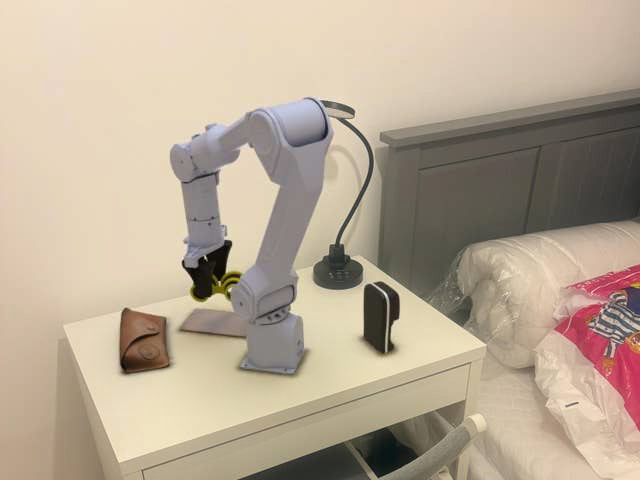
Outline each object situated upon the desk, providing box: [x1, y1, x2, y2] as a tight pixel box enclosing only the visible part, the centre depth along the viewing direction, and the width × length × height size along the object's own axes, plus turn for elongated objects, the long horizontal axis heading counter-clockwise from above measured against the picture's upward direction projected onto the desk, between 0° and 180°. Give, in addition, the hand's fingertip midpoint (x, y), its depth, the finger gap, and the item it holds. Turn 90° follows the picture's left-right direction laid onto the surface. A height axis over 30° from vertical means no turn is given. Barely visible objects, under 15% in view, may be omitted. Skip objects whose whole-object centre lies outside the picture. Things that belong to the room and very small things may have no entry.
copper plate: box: [179, 308, 246, 339], centre depth 124 cm, size 13×8×1 cm, turn 76°
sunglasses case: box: [118, 307, 171, 374], centre depth 117 cm, size 18×7×7 cm
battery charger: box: [362, 280, 401, 354], centre depth 113 cm, size 7×4×11 cm, turn 28°
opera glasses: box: [189, 270, 244, 303], centre depth 117 cm, size 10×5×5 cm, turn 88°
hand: (212, 288), depth 118 cm, fingers closed on opera glasses, 6 cm apart
